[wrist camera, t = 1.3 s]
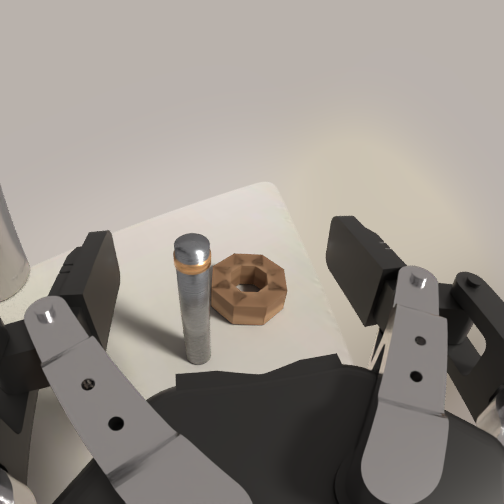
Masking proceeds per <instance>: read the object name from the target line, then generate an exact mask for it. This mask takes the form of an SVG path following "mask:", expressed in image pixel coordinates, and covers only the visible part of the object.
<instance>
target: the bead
mask: <svg viewBox="0 0 504 504" xmlns="http://www.w3.org/2000/svg"><path fill="white" fill-rule="evenodd" d="M239 284H254V285H255V286H256V287H258V288H259V289H260V291H259V292H242V291H240V290H239V289H238V288H236V286H237V285H239ZM286 294H287V287H286V280H285V273H284V269H283V268H281V267H280V266H278V265H277V264H275V263H274V262H272V261H271V260H269V259H268V258H266V257H265V256H263V255H255V254H235V253H234V254H233V255H231V256H229V257H228V258H226V259H224V260H223V261H221V262H219V263H218V264H216V265H214V266H213V274H212V287H211V307H213V308H214V309H215V310H216V311H218V312H219V313H220V314H221V315H222V316H223V317H225V318H226V319H227V320H228V321H229V322H231V323H232V324H250V325H264V324H265V323H266V322H267V321H269V320H270V319H271V318H272V317H273V316H274V315H276V314H277V313H278V312H279V311H280V310H282V309H283V306H284V302H285V298H286Z"/></svg>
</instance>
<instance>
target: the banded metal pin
mask: <svg viewBox="0 0 504 504" xmlns="http://www.w3.org/2000/svg"><path fill="white" fill-rule="evenodd" d="M173 255H174V265H175V267H176V272H177V282H178V291H179V300H180V309H181V317H182V325H183V333H184V340H185V348H186V355H187V358H188V360H189V361H190V362H191V363H193V364H197V365H201V364H204V363H206V362H207V361H208V360H209V359H210V356H211V349H210V265H211V251H210V243H209V240H208V239H207V238H206V237H205V236H203V235H200V234H196V233H189V234H185V235H182V236H180V237H179V238H177V239H176V241H175V243H174V253H173Z"/></svg>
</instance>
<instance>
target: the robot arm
mask: <svg viewBox="0 0 504 504" xmlns="http://www.w3.org/2000/svg"><path fill="white" fill-rule="evenodd" d="M326 263H327V266H328V269H329V270H330V272H331V273H332V275H333V276H334V278H335V280H336V281H337V283H338V284H339V286H340V288H341V289H342V291H343V292H344V294H345V295H346V297H347V298H348V300H349V302H350V303H351V305H352V307H353V308H354V310H355V312H356V313H357V315H358V316H359V318H360V320H361V322H362V323H363V325H364V326H365V327H366V326H371V325H376V324H378V326H379V329H378V332H377V334H376V338H375V343H374V346H373V350H372V353H371V357H370V360H369V364H368V367H367V369H366V368H363V367H358V366H353V365H344V364H341V361H340V359H339V357H338V355H337V353H336V354H331V355H325V356H320V357H315V358H309V359H303V360H299V361H296V362H294V363H291V364H289V365H286V366H284V367H281V368H279V369H276V370H273V371H271V372H268V373H265V374H245V373H234V372H223V371H210V372H198V373H185V374H176V386H175V387H172V388H168V389H166V390H164V391H161V392H159V393H157V394H155V395H153V396H152V397H150V398H149V399H147V400H145V399H144V398H143V397H142V396H141V394H140V393H139V392H138V391H137V390H136V389H135V388H134V386H133V385H132V384H131V383H130V382H129V380H128V379H127V378H126V377H125V376H124V374H123V373H122V372H121V371H120V370H119V368H118V367H117V366H116V365H115V363H114V362H113V361H112V360H111V358H110V357H109V356H108V354H107V353H106V348H107V342H108V337H109V332H110V327H111V322H112V317H113V312H114V308H115V303H116V299H117V294H118V290H119V286H120V271H119V266H118V261H117V257H116V252H115V248H114V243H113V238H112V234H111V232H110V231H109V230H107V231H97V232H89V234H88V236H87V237H86V239H85V241H84V243H83V245H82V247H77V248H75V249H74V250H73V251H72V252H71V253H70V254H69V255H68V256H67V258H66V260H65V262H64V264H63V266H62V268H61V270H60V272H59V273H60V274H58V276H57V278H56V280H55V282H54V284H53V286H52V288H51V290H50V293H49V295H48V296H47V297H43V298H41V299H39V300H37V301H35V302H34V303H33V304H31V305H30V306H29V308H28V309H27V310H26V312H25V315H24V320H20V321H17V322H14V323H10V324H7V325H4V323H3V322H2V320H1V318H0V504H37V503H36V500H35V497H34V495H33V493H32V491H31V490H30V489H29V488H28V487H27V471H28V459H29V449H30V440H31V433H32V425H33V419H34V413H35V407H36V401H37V396H38V391H39V389H41V388H45V387H49V386H51V387H52V389H53V391H54V393H55V395H56V397H57V399H58V401H59V402H60V404H61V406H62V408H63V410H64V411H65V413H66V415H67V417H68V418H69V420H70V422H71V423H72V425H73V427H74V428H75V430H76V432H77V433H78V435H79V436H80V438H81V439H82V441H83V443H84V444H85V446H86V447H87V449H88V450H89V452H90V453H91V455H92V456H93V459H92V460H91V461H90V462H89V463H88V464H87V465H86V466H85V468H84V469H83V470H82V471H81V472H80V473H79V474H78V475H77V477H76V478H75V479H74V480H73V481H72V482H71V483H70V484H69V485H68V487H67V488H66V489H65V490H64V491H63V492H62V493H61V494H60V495H59V497H58V498H57V499H56V500H55V501H54V502H53V503H52V504H504V302H503V301H502V300H501V299H500V297H499V296H498V295H497V294H496V293H495V292H494V291H493V290H492V289H491V287H490V286H489V285H488V284H487V283H486V282H485V281H484V280H483V279H482V278H480V277H478V276H477V275H475V274H472V273H469V272H460V273H458V274H457V275H456V278H455V280H454V283H453V284H443V283H438V281H437V279H436V278H435V276H434V275H433V274H432V273H430V272H429V271H427V270H426V269H423V268H421V267H417V266H407V265H406V264H405V263H404V262H403V261H402V260H401V259H400V258H399V257H398V256H397V255H396V253H395V252H394V251H393V250H392V249H390V247H389V246H388V245H387V244H386V243H384V241H383V240H382V239H381V238H380V237H379V236H378V235H377V234H376V233H374V232H372V231H371V230H369V229H367V228H365V227H364V226H363V225H362V224H361V223H360V222H359V221H358V220H357V219H356V218H355V217H354V216H335V217H333V219H332V221H331V226H330V232H329V238H328V244H327V251H326ZM29 273H30V265H29V263H28V260H27V258H26V256H25V253H24V251H23V248H22V246H21V243H20V240H19V238H18V235H17V233H16V230H15V227H14V225H13V222H12V219H11V216H10V213H9V210H8V207H7V204H6V201H5V198H4V195H3V192H2V188H1V185H0V301H3V300H6V299H8V298H10V297H11V296H13V295H14V294H15V293H17V292H18V291H19V290H20V289H21V288H22V287H23V285H24V284H25V282H26V281H27V279H28V276H29ZM473 323H474V324H475V325H476V327H477V328H478V329H479V331H480V332H481V333H482V335H483V336H484V338H485V340H486V349H485V352H484V353H483V355H482V356H480V355H479V353H478V352H477V350H476V349H475V347H474V346H473V345H472V343H471V342H470V340H469V339H468V337H467V334H468V332H469V331H470V329H471V327H472V325H473ZM447 373H448V374H449V376H450V378H451V379H452V381H453V383H454V385H455V386H456V388H457V390H458V392H459V393H460V395H461V397H462V399H463V400H464V402H465V404H466V406H467V408H468V409H469V411H470V413H471V415H472V417H473V419H474V421H475V422H476V426H474V425H473V424H471V423H469V422H467V421H465V420H463V419H461V418H459V417H457V416H455V415H453V414H452V413H450V412H448V411H446V410H444V405H445V393H446V378H447V377H446V376H447Z"/></svg>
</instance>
